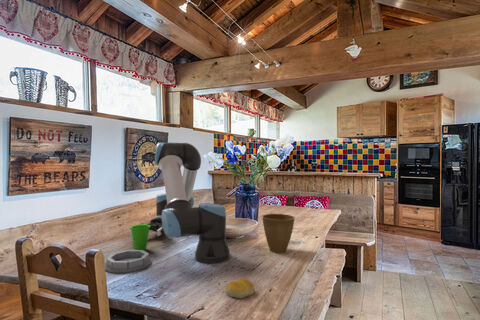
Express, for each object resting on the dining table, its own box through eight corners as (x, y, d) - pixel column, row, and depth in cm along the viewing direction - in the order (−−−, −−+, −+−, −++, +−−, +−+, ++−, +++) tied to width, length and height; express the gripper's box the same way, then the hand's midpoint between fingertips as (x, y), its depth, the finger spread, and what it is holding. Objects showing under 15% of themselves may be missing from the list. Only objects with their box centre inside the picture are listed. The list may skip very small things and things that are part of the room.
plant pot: (282, 258, 124) (282, 221, 124) (255, 251, 134) (255, 216, 134) (300, 250, 135) (300, 216, 135) (274, 244, 145) (274, 212, 145)
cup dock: (159, 264, 116) (159, 256, 116) (113, 277, 104) (113, 267, 104) (139, 254, 129) (139, 246, 129) (97, 264, 117) (97, 255, 117)
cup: (138, 254, 129) (138, 229, 129) (126, 250, 134) (126, 227, 134) (154, 248, 137) (154, 225, 137) (141, 245, 142) (141, 223, 142)
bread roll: (221, 291, 93) (221, 279, 93) (244, 285, 98) (244, 273, 98) (234, 302, 86) (234, 288, 86) (258, 294, 91) (258, 282, 91)
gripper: (179, 230, 162) (169, 240, 141) (135, 230, 163) (119, 240, 142) (179, 217, 162) (169, 225, 141) (135, 216, 163) (119, 225, 142)
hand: (144, 233), depth 141 cm, fingers open, 13 cm apart
